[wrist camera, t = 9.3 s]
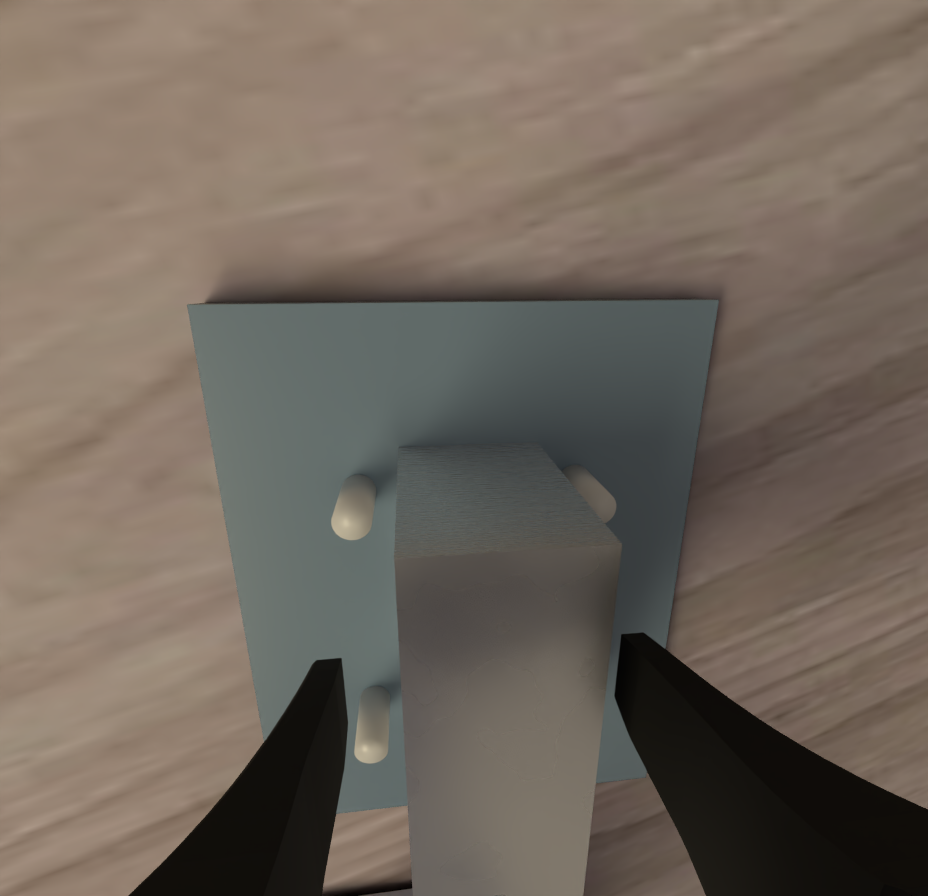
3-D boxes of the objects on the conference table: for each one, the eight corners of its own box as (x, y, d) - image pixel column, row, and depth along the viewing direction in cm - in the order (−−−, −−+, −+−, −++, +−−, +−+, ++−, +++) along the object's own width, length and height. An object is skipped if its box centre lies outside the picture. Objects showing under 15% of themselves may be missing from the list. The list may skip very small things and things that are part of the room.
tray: (634, 754, 20) (672, 830, 17) (284, 793, 19) (263, 883, 16) (698, 298, 15) (768, 302, 12) (202, 302, 13) (146, 308, 10)
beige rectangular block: (527, 708, 18) (585, 910, 12) (411, 720, 17) (415, 935, 11) (539, 441, 14) (627, 544, 9) (398, 447, 14) (394, 558, 8)
